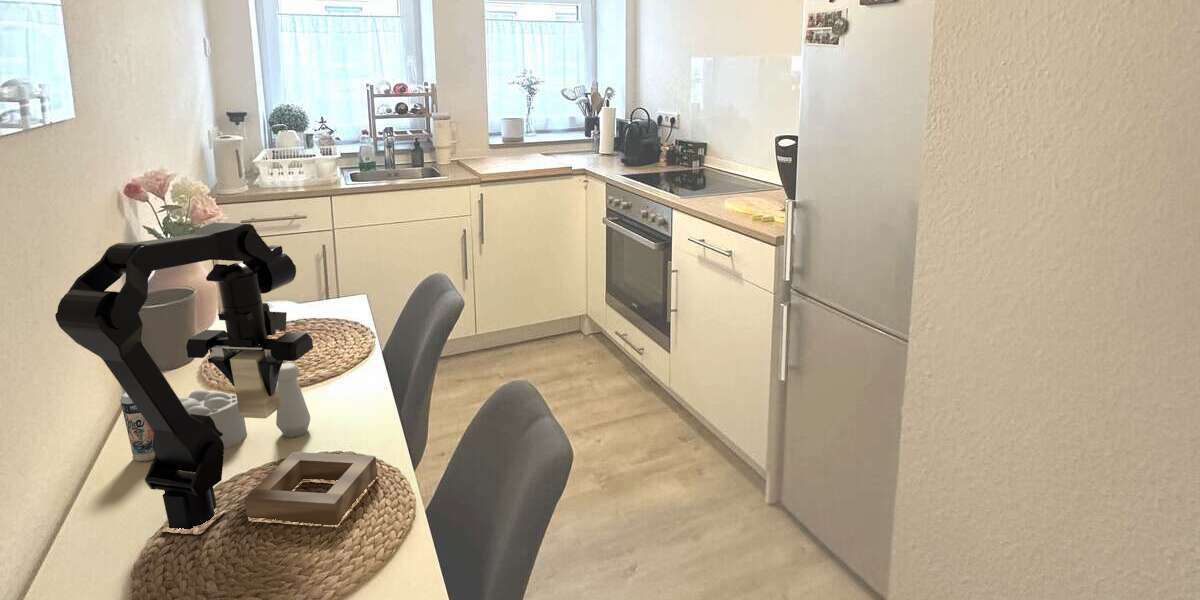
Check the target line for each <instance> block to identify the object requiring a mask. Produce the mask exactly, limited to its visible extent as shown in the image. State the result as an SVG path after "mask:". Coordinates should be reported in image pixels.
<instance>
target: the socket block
mask: <svg viewBox="0 0 1200 600" xmlns="http://www.w3.org/2000/svg"><path fill="white" fill-rule="evenodd" d="M377 465H378V464H377V457H376V455H363V454H362V455H360V454H359V455H358V454H345V453H343V454H342V453H321V452H307V451H306V452H305V451H303V452H302V451H293V452H292V453H290V454H289V455H288V456H287V457H286V458H285V459H284V460H283V461H282V462H281V463H280V464H279V465H278V466H276V468H274V469H273V470H272V471H271V472H270V473H269V474H268V475H267V476H266V477H265V478H264V479H263V480H261V482H259V483H258V484H257V485H255V487H254V488H253V489H252V490H251V491H250V492H249V493H248V494H247V495H245V496H244V497H243V500H244V506H245V512H246V518H247V517H250V518H266V519H274V520H275V519H276V520H282V521H290V522H299V523H302V522H303V523H311V524H312V523H313V524H321V525H338V524H339V522H340V521H341V519H342V517H343V516H344V515H345V513H346V512H347V511H348V509H349V508H350V506H352V504H353V503H354V502H355V501H356V499H357V498H358V497H359V496H360V495H361V494H362V493H363V491H364V490H365V489H366V488H367V487H368V485H369V484H370V483H371V482H372V481H373V480H374V479H375V478H376V477H377V476H378V477H379V475H378V467H377ZM303 479H324V480H335V481H336V480H338V481H337V482H336V483H335V484H332V486H331V487H330V489H328V491H327V492H326V493H325V492H309V491H292V490H293V489H294V488H295V487H296V486H297V485H298V484H299V483H300V482H301V481H302V480H303Z"/></svg>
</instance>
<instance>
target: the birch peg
mask: <svg viewBox="0 0 1200 600" xmlns="http://www.w3.org/2000/svg"><path fill="white" fill-rule="evenodd" d="M263 358H265V351H251V350H244V351H242V352H240V353H239V354H237V355H236V356H234V357H232V358H231V359H230V363H231V369H232V374H233V380H234V385H235V387H234V392H235V395H236V397H237V402H238V408H239V413H240V417H244V419H246V418H247V419H248V418H251V419H267V418H269V417H270V416H271V415H272V414H274V413H276V412H277V409H278V408H280V407H281V403H280V397H279V391H278V384H277V385H276V389H275V393H274V395H272V396H269V395H268V393H267V391H266V388H265V385H264V381H263V378H262V374H261V371H260V368H259V364H258V362H259V361H260V360H262V359H263Z"/></svg>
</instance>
